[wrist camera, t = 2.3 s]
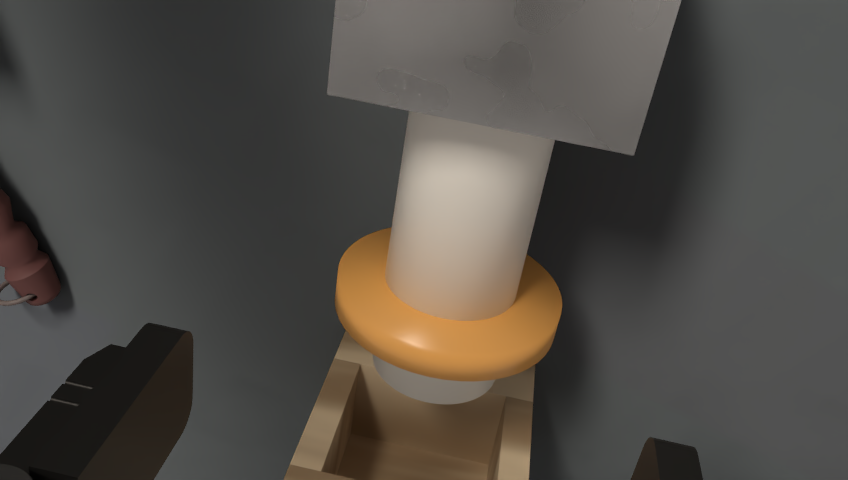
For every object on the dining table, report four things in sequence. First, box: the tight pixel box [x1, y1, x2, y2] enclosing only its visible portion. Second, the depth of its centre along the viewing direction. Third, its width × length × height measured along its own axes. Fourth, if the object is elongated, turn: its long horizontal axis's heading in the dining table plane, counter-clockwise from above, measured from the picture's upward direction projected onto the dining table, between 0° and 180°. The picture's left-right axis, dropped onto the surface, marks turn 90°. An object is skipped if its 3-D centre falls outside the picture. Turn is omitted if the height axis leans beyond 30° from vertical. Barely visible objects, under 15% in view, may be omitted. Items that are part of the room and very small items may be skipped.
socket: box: [284, 331, 535, 480], centre depth 29 cm, size 4×8×9 cm, turn 81°
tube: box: [335, 111, 562, 404], centre depth 21 cm, size 18×7×7 cm, turn 171°
